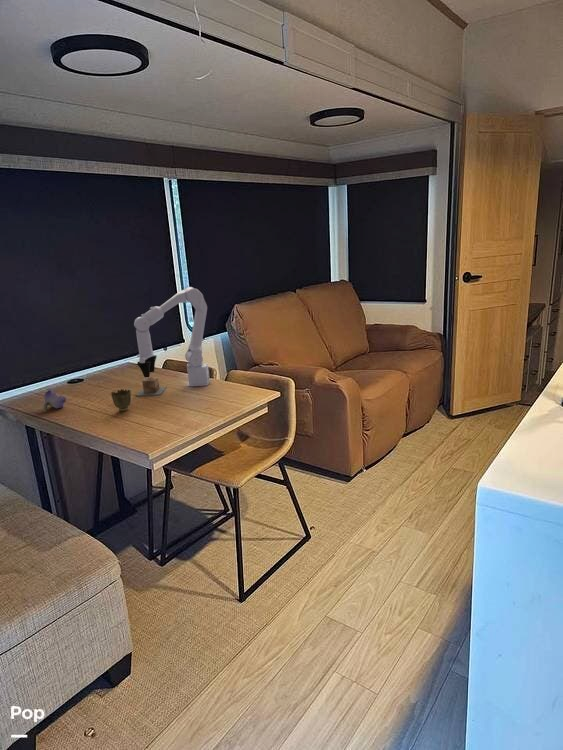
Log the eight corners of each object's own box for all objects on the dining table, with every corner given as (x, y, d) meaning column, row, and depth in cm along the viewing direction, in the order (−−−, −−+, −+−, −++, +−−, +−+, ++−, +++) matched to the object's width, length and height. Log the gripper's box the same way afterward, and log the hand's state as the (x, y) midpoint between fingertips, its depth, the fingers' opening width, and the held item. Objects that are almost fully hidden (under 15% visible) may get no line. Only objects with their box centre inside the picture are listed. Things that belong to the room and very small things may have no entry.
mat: (166, 387, 220) (166, 386, 220) (160, 395, 210) (160, 394, 210) (143, 388, 221) (143, 387, 220) (135, 396, 210) (135, 395, 210)
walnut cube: (159, 388, 218) (157, 376, 216) (156, 392, 212) (154, 380, 211) (147, 389, 218) (145, 377, 216) (144, 393, 213) (142, 381, 211)
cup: (128, 406, 198) (125, 387, 196) (136, 409, 193) (133, 391, 191) (110, 411, 193) (107, 392, 191) (119, 415, 188) (116, 396, 186)
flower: (45, 400, 192) (56, 382, 199) (32, 407, 195) (42, 389, 202) (63, 413, 197) (73, 396, 204) (50, 420, 200) (60, 403, 207)
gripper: (140, 341, 216) (145, 370, 220) (130, 349, 202) (135, 379, 206) (156, 340, 216) (160, 369, 220) (147, 348, 202) (151, 378, 206)
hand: (149, 374), depth 213 cm, fingers open, 7 cm apart
